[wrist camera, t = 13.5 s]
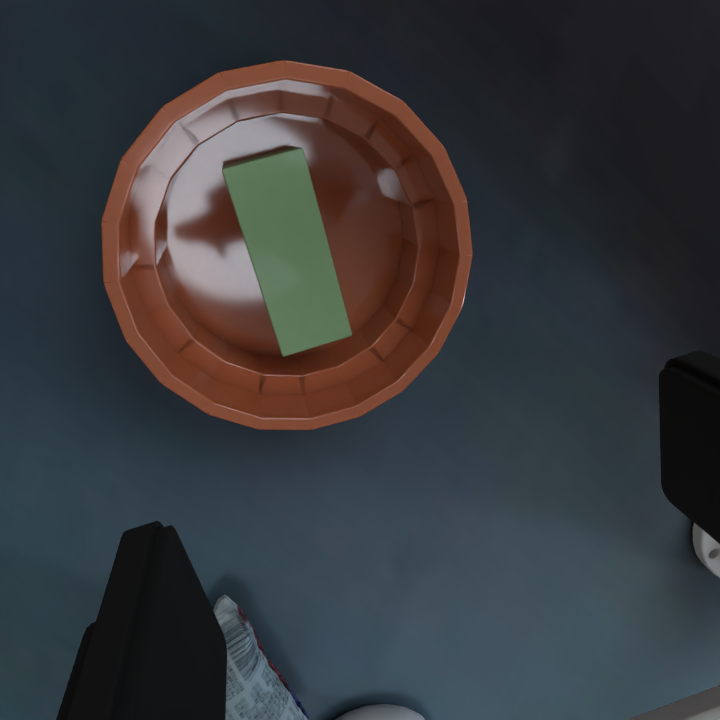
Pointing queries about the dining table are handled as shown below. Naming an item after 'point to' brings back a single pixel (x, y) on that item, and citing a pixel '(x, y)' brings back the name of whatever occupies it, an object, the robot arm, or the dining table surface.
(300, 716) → the packaged food
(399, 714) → the donut
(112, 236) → the bowl
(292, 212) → the bar
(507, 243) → the dining table surface
